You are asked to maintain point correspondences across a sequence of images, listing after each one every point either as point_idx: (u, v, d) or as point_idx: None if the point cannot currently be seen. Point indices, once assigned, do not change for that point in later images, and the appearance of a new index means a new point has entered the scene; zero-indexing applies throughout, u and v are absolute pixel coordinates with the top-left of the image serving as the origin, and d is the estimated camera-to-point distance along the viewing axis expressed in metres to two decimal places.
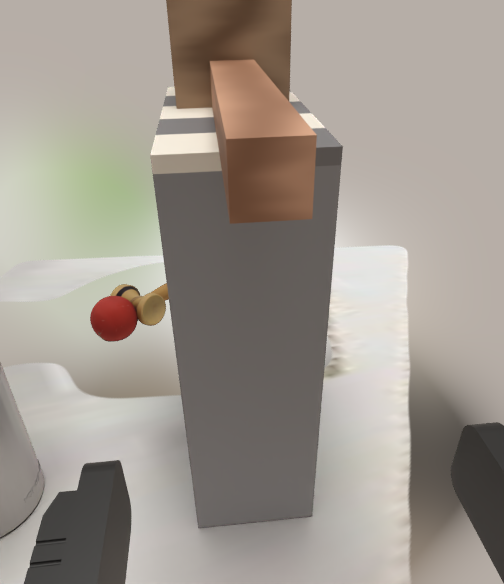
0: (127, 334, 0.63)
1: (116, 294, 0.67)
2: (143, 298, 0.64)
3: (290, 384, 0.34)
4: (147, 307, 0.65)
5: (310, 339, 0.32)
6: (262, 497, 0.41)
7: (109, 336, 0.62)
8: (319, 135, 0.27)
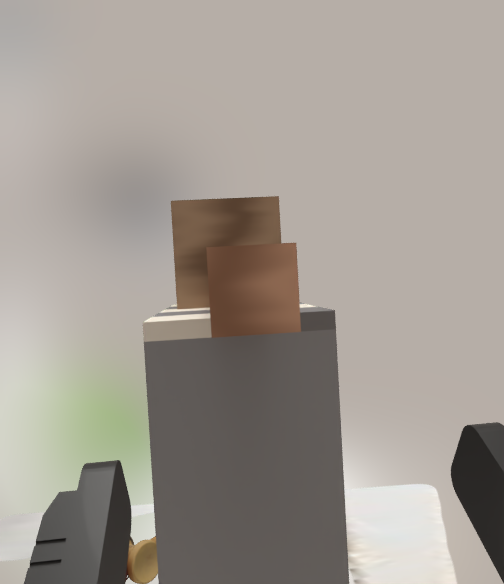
0: None
1: None
2: (136, 546, 0.55)
3: None
4: (140, 558, 0.55)
5: (326, 550, 0.26)
6: None
7: None
8: (312, 308, 0.28)
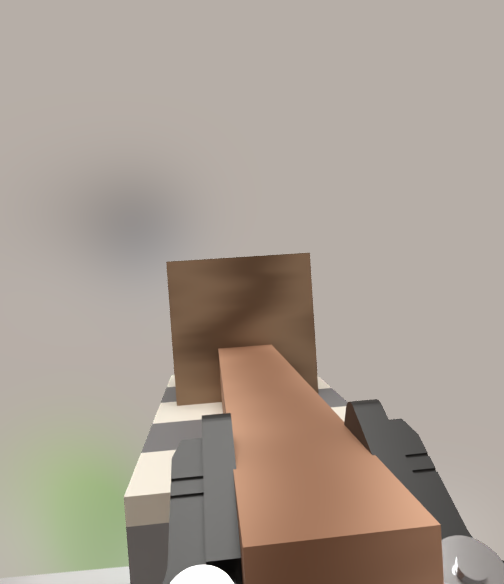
0: None
1: None
2: None
3: None
4: None
5: None
6: None
7: None
8: None
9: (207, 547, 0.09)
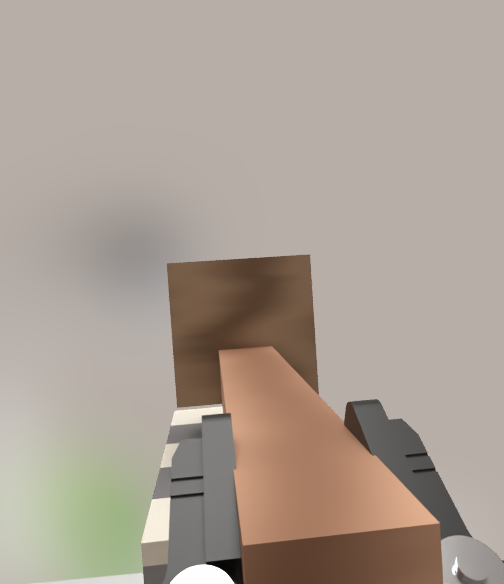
0: None
1: None
2: None
3: None
4: None
5: None
6: None
7: None
8: None
9: (207, 547, 0.09)
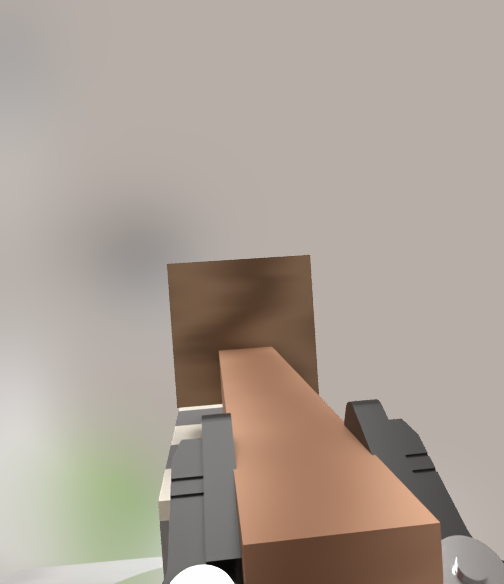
0: None
1: None
2: None
3: None
4: None
5: None
6: None
7: None
8: None
9: (207, 547, 0.09)
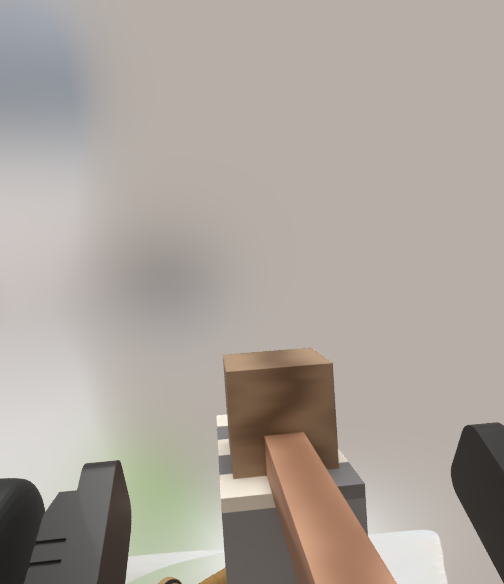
0: None
1: None
2: None
3: None
4: None
5: None
6: None
7: None
8: (345, 471, 0.36)
9: None
